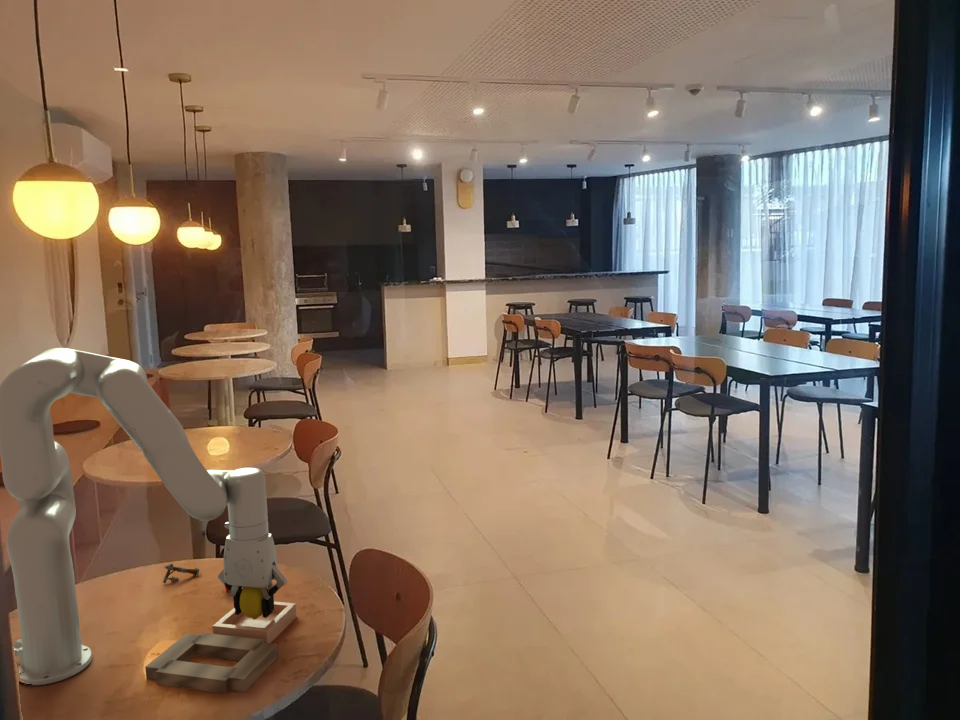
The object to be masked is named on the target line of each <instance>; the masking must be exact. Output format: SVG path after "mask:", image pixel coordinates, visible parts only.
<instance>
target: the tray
mask: <svg viewBox="0 0 960 720" xmlns="http://www.w3.org/2000/svg"><path fill="white" fill-rule="evenodd" d="M296 618H297V604H296V603H294V602H285V601H275V600H274V610H273V612H272V613H271V614H270V615H269V616H268V617H267V618H264V617H263V614H262V615H261V616H259V617H258V618H257V619H255V620H254V619H252V618H249V617H247V616H245V615H244V614H243V613H242V612H241V613H240V614H239V615H236V614H235V608H234V607H233V608H232V609H230V610H229V611H228V612H227V613H226V614H225V615H224V616H222V617H221V618H220V619H219V620H218V621H216V622H215V623H214V624H212V634H219V635H228V636H237V637H245V638H254V639H263V640H266V643H272V642H273V641H275V639H277V637H278V636H279V635H280V634H282V632H283V631H284V630H285V629H286V628H288V626H289V625H290V624H291V623H292V622H293V621H294V620H295V619H296Z"/></svg>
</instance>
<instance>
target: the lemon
mask: <svg viewBox="0 0 960 720" xmlns="http://www.w3.org/2000/svg"><path fill="white" fill-rule="evenodd" d="M263 598H264V596H263V593H262V591H261V588H253V587H245V588H244V589H243V590H242V592H241V595H240V609H241V611H242V613H243V614H244V615H245V616H247V617H249V618H252V619H254V620H255V619H257V618H258V617H259V616H261V615H262V599H263Z"/></svg>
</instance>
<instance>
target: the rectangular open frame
mask: <svg viewBox="0 0 960 720" xmlns="http://www.w3.org/2000/svg"><path fill="white" fill-rule="evenodd" d="M196 656H197V657H205V658H213V659H221V660H230V661H238V662H237V663H236V664H234V666H232V667H231V666H225V665H224V666H223V665H215V664H209V663H199V662H192V661H191V660H193V658H194V657H196ZM278 657H279V644H278V643H272V642H271V643H266V640H263V639H254V638H245V637H237V636H228V635H219V634H213V633H210V632H209V633H208V632H201V633H200V634H192V633H185V634H184V635H182V636H181V637H180V638H179V639H178V640H176V641H175V642H174V643H172V644H171V645H170V646H168V648H167V649H165V650H164V651H162V653H161V654H159V655H158V656H157V657H155V658H154V659H153V660H151V662H149V663H148V664H147V665H146V666H144V667H145V677H146V680H149V681H156V685H158V686H167V687H174V688H181V689H188V690H195V691H197V690H198V691H203V692H204V691H205V692H211V693H216V694H217V693H219V694H225V695H226V694H228V692H239V693H246V692H247V690H248V689H250V687H251V686H253V684H255V682H256V681H257V680H259V678H260V677H261V676H262V675H263V674H264V672H266V670H267V669H268V668H269V667H270V666H271V665H272V664H273V663H274V662H275V661H276V659H278Z"/></svg>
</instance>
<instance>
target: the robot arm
mask: <svg viewBox="0 0 960 720" xmlns="http://www.w3.org/2000/svg"><path fill="white" fill-rule="evenodd" d="M69 394H73V395H81V396H85V397H86V396H87V397H93V398H98V400H99V402H100V403H101V404H102V405H103V407H104V408H105V409H106V411H108V413H109V414H110V415H111V416H112V418H113V419H114V420H115V422H117V424H118V425H119V426H120V428H122V429H123V430H124V432H125V434H127V435H128V436H129V438H130V439H131V440H132V442H133V443H134V444H135V445H136V447H137V448H138V449H139V450H140V451H141V453H142V454H143V456H144V458H145V459H146V461H147V463H148V464H149V465H150V466H151V468H152V469H153V470H154V472H155V473H156V475H157V477H158V478H159V480H160V481H161V482H162V483H163V485H164V486H165V488H166V489H167V490H168V491H169V493H170V494H171V496H172V497H173V498H174V499H175V500H176V501H177V502H178V504H179V505H180V507H181V508H182V509H183V510H184V511H185V513H187V514H188V515H189V516H190V517H192V518H194V519H196V520H198V521H201V522H209V521H210V522H211V521H212V520H216V519H217V518H218V517H220V516H221V515H222V514H223V513H224V512H225V509H226V508H227V512H228V513H227V514H228V521H226V522H225V523H224V527H223V528H225V529H226V530H228V533H229V534H228V535H227V536H226V538H225V542H224V551H223V569H222V571H220V573H219V574H218V575H217V578H218V580H219V581H221V582H222V584H223V585H224V584H225V585H224V587H225V586H226V587H227V589H228V590H229V591H228V592H230V593H229V594H230V596H231V597H233V608H235V614H236V615H239V614H240V613H241V612H242V611H241V609H240V595H241V592H242V590H243V587H253V588H261V591H262V593H263V596H264V598H263V599H262V614H263V617H264V618H267V617H268V616H269V615H270V614H271V613H272V612H273V610H274V601H275V594H276V593H277V592H278V591H279V590H280V589H281V588H282V587H283V586H284V585H286V584H287V583H288V579H287V578H286V576H285V575H284V574H283V573H282V571H281V570H279V569H278V558H277V551H276V547H275V541H274V538H273V536H272V533H269V521H268V520H269V519H268V517H269V516H268V505H267V504H268V502H267V486H266V485H267V483H266V475H265V472H264V471H263V470H262V469H261V468H258V467H250V466H249V467H239V468H237V469H234V470H232V469H230V470H229V469H228V470H225V469H224V470H223V469H222V470H221V469H206V467H205V466H204V465H203V463H202V462H201V461H200V459H199V458H198V456H197V454H196V452H195V451H194V449H193V447H192V445H191V443H190V441H189V438H188V436H187V433H186V431H185V429H184V427H183V425H182V423H181V422H180V421H179V419H178V418H177V417H176V416H175V415H174V413H173V412H172V411H171V410H170V409H169V407H168V406H167V405H166V404H165V403H164V401H163V400H162V399H161V397H160V396H159V395H158V393H157V392H156V391H155V390H154V388H153V387H152V386H151V385H150V384H149V382H148V376H147V373H146V371H145V370H144V368H143V367H142V366H141V365H139V364H138V363H137V362H134V361H132V360H128V359H123V358H119V357H113V356H107V355H103V354H97V353H93V352H88V351H82V350H77V349H73V348H68V347H66V348H65V347H53V348H49V349H47V350H44V351H43V352H41V353H39V354H37V355H36V356H34V357H33V358H31V359H29V360H27V361H25V362H23V363H22V364H20V366H18V367H17V368H15V369H14V370H12V371H11V372H10V373H9V374H8V375H7V376H5V378H4V379H3V380H2V382H1V383H0V463H1V473H2V480H3V485H4V487H5V489H6V491H7V492H8V493H9V495H11V496H12V497H13V498H14V499H16V500H17V502H18V509H19V511H18V512H17V514H16V515H15V517H14V518H13V519H12V521H11V523H10V525H9V527H8V531H7V535H6V549H7V555H8V558H9V562H10V567H11V571H12V576H13V584H14V591H15V592H14V593H15V598H16V605H17V606H16V607H17V614H18V622H19V623H18V624H19V631H20V638H19V639H17V640H16V641H14V644H13V645H14V646H13V648H14V651H15V656H14V657H19V658H18V659H19V664H18V665H17V666H18V667H19V673H20V674H21V669H20V666H21V668H22V673H24V674H22V676H21V675H20V679H21V680H23V681H24V682H25V683H29V684H32V685H31V686H43V685H50V684H53V683H57V682H60V681H63V680H66V679H68V678H71V677H72V676H74V675H77V674H78V673H80V672H81V671H83V670H85V668H86V667H88V665H89V664H90V663H91V662H92V661H93V652H92V649H91V648H90V647H89V646H87V645H84V644H82V637H81V626H80V617H79V607H78V600H77V589H76V588H77V587H76V579H75V571H74V564H73V559H72V553H71V546H70V534H71V531H72V528H73V526H74V523H75V520H76V513H77V511H76V500H75V493H74V486H73V485H74V484H73V478H72V468H71V464H70V458H69V456H68V453H67V451H66V449H65V448H64V447H63V446H62V445H61V444H60V443H59V442H57V441H55V436H54V426H53V425H54V424H53V421H52V416H51V407H52V405H53V403H54V402H56V401H58V400H59V399H62V398H64V397H65V396H67V395H69ZM273 580H275V581H276V583H275V584H274V583H273Z"/></svg>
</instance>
